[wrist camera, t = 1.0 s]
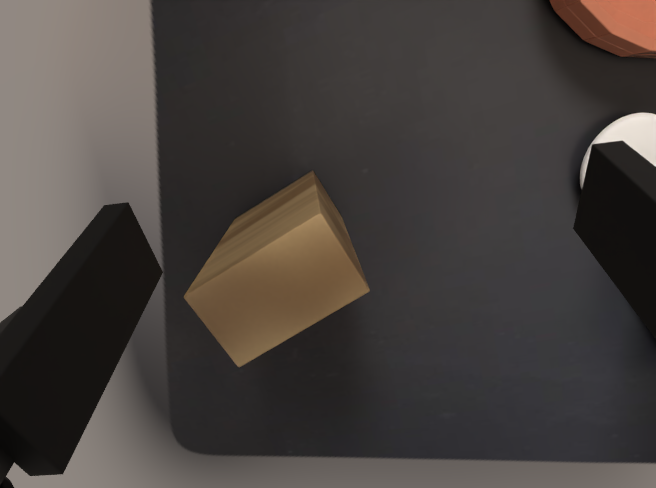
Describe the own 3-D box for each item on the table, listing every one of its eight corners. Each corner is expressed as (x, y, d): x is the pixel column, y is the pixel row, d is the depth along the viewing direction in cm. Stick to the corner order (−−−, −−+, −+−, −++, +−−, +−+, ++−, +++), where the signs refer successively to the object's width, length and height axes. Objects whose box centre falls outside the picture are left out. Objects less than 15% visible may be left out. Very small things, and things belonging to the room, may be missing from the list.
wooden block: (234, 218, 29) (182, 297, 16) (312, 169, 28) (320, 212, 16) (265, 262, 30) (238, 368, 17) (341, 216, 29) (370, 291, 17)
